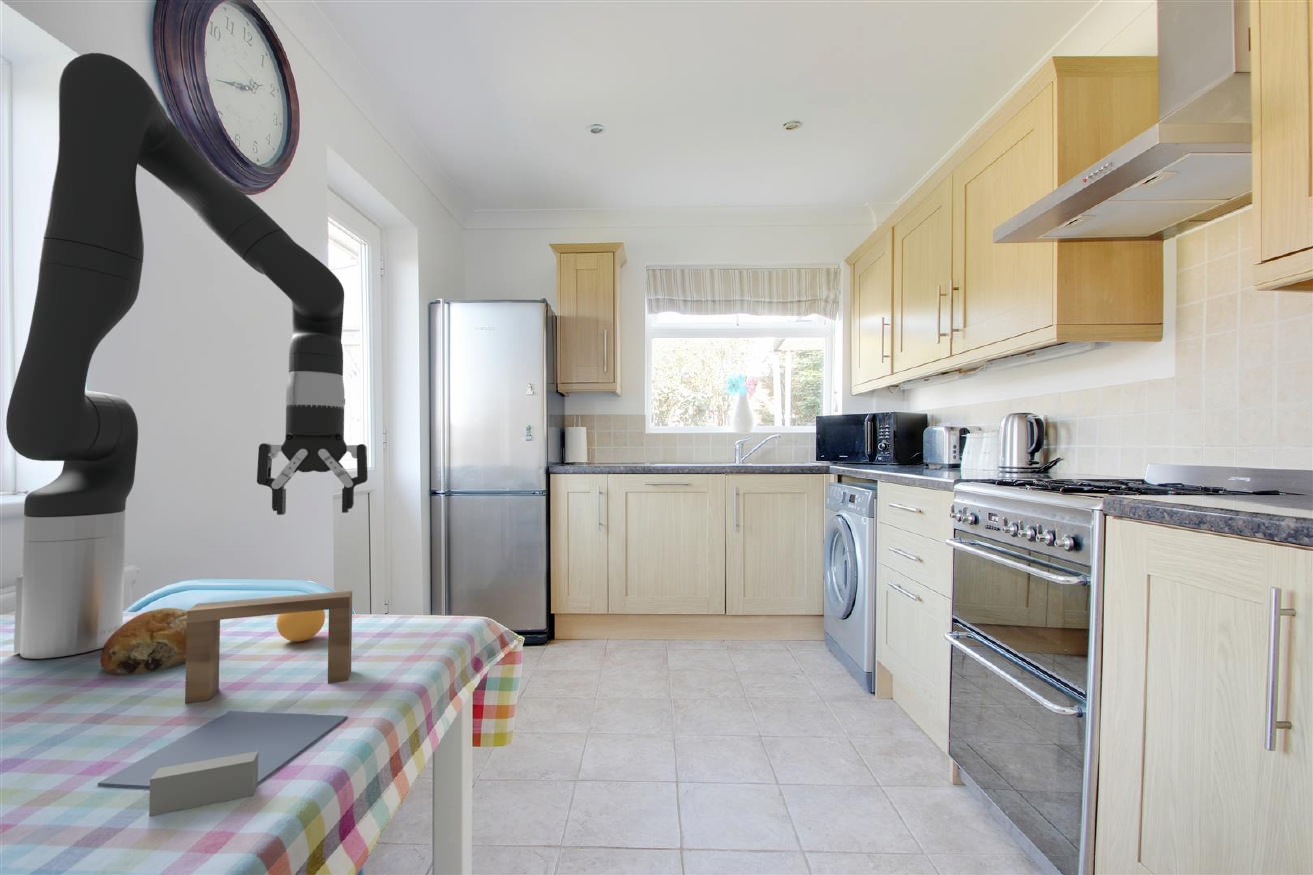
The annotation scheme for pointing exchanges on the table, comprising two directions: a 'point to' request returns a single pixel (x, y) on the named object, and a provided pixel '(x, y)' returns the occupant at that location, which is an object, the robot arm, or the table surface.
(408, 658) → the table surface
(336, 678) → the bridge
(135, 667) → the bread roll
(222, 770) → the rail
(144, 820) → the table surface
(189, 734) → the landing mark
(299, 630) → the ball
